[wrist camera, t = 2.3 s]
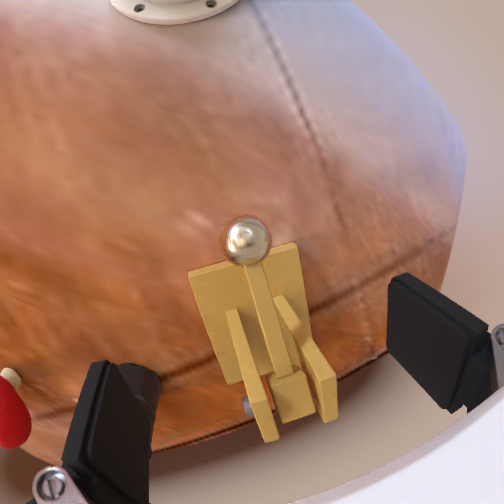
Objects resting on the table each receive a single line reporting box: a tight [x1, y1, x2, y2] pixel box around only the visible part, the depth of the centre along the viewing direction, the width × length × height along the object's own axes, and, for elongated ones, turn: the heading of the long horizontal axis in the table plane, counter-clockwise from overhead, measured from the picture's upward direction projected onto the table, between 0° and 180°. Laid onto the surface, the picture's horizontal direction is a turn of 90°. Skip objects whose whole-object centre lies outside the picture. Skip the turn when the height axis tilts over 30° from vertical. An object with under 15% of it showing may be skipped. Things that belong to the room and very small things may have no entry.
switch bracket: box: [188, 242, 338, 443], centre depth 21 cm, size 12×9×12 cm
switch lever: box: [219, 214, 316, 423], centre depth 18 cm, size 13×3×3 cm, turn 13°
